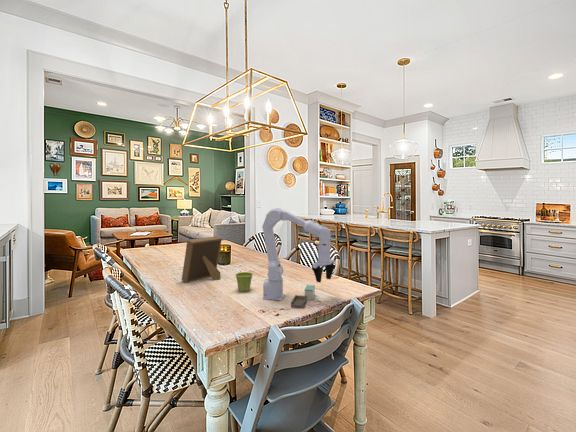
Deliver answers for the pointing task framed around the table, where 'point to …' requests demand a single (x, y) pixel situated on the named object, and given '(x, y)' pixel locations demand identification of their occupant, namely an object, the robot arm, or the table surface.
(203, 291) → the table surface
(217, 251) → the photo frame
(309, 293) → the teal rectangular brick
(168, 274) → the table surface
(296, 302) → the grey rectangular tray
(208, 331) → the table surface
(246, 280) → the plant pot
